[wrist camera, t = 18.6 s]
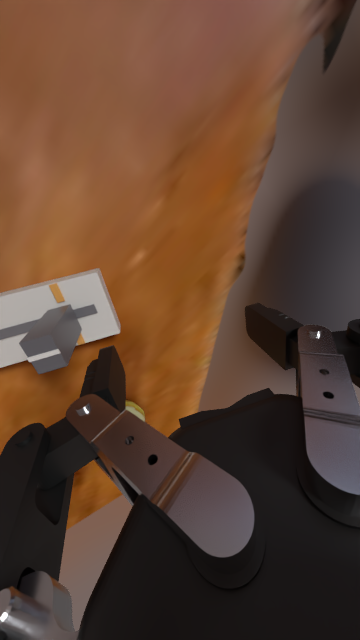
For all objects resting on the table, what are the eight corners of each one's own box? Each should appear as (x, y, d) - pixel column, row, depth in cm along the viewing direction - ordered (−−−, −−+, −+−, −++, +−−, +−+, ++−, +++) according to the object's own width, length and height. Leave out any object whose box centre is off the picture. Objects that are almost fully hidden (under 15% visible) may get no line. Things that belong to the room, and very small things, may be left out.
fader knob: (62, 332, 32) (37, 375, 23) (49, 307, 30) (17, 344, 21) (83, 326, 32) (67, 366, 23) (72, 301, 30) (50, 335, 21)
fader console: (-29, 367, 34) (-43, 380, 32) (-74, 311, 30) (-95, 321, 27) (120, 325, 37) (120, 333, 34) (99, 267, 33) (96, 272, 30)
